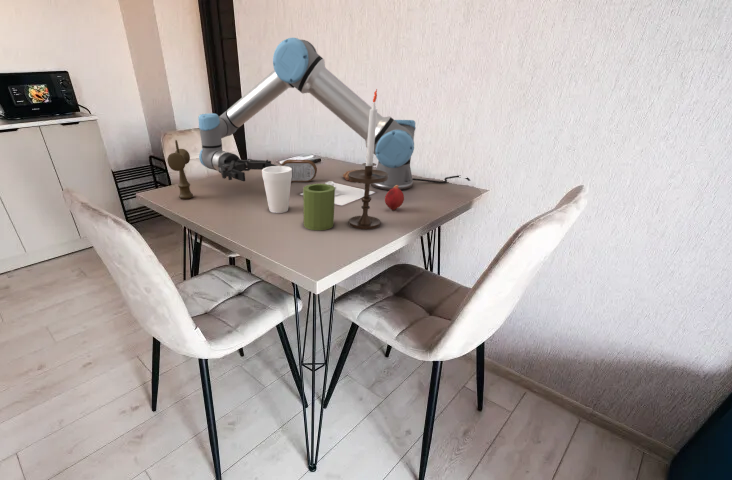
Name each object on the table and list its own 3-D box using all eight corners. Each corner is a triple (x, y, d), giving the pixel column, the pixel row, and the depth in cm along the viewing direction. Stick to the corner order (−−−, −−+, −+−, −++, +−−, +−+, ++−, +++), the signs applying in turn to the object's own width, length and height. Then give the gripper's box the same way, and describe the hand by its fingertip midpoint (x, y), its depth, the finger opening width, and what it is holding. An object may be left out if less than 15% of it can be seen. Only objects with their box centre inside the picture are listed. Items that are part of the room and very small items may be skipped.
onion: (391, 214, 117) (394, 188, 113) (380, 209, 121) (382, 184, 117) (406, 211, 119) (409, 185, 115) (394, 206, 123) (397, 181, 119)
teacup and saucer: (329, 188, 142) (329, 178, 140) (346, 192, 137) (346, 181, 135) (314, 194, 137) (314, 182, 135) (330, 198, 132) (330, 186, 130)
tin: (316, 180, 153) (317, 158, 148) (316, 182, 150) (316, 160, 146) (280, 180, 154) (279, 159, 150) (279, 182, 152) (278, 161, 147)
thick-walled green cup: (334, 220, 114) (335, 183, 108) (332, 231, 107) (333, 192, 101) (306, 219, 115) (305, 183, 110) (301, 229, 108) (301, 192, 102)
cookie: (347, 182, 149) (347, 175, 147) (340, 176, 158) (340, 168, 156) (371, 181, 150) (372, 173, 148) (363, 174, 159) (363, 167, 157)
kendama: (174, 202, 134) (163, 142, 123) (181, 194, 142) (170, 137, 131) (191, 201, 134) (181, 142, 123) (197, 193, 142) (187, 137, 131)
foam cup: (292, 214, 119) (291, 172, 112) (263, 215, 120) (261, 173, 113) (292, 204, 127) (291, 165, 120) (266, 205, 128) (263, 166, 121)
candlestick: (361, 214, 117) (371, 87, 98) (390, 223, 110) (406, 88, 92) (338, 224, 111) (344, 89, 92) (367, 233, 104) (380, 90, 86)
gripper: (255, 167, 146) (290, 177, 132) (198, 179, 133) (230, 192, 119) (253, 147, 142) (289, 155, 128) (195, 157, 129) (227, 168, 115)
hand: (261, 173), depth 124 cm, fingers open, 13 cm apart
